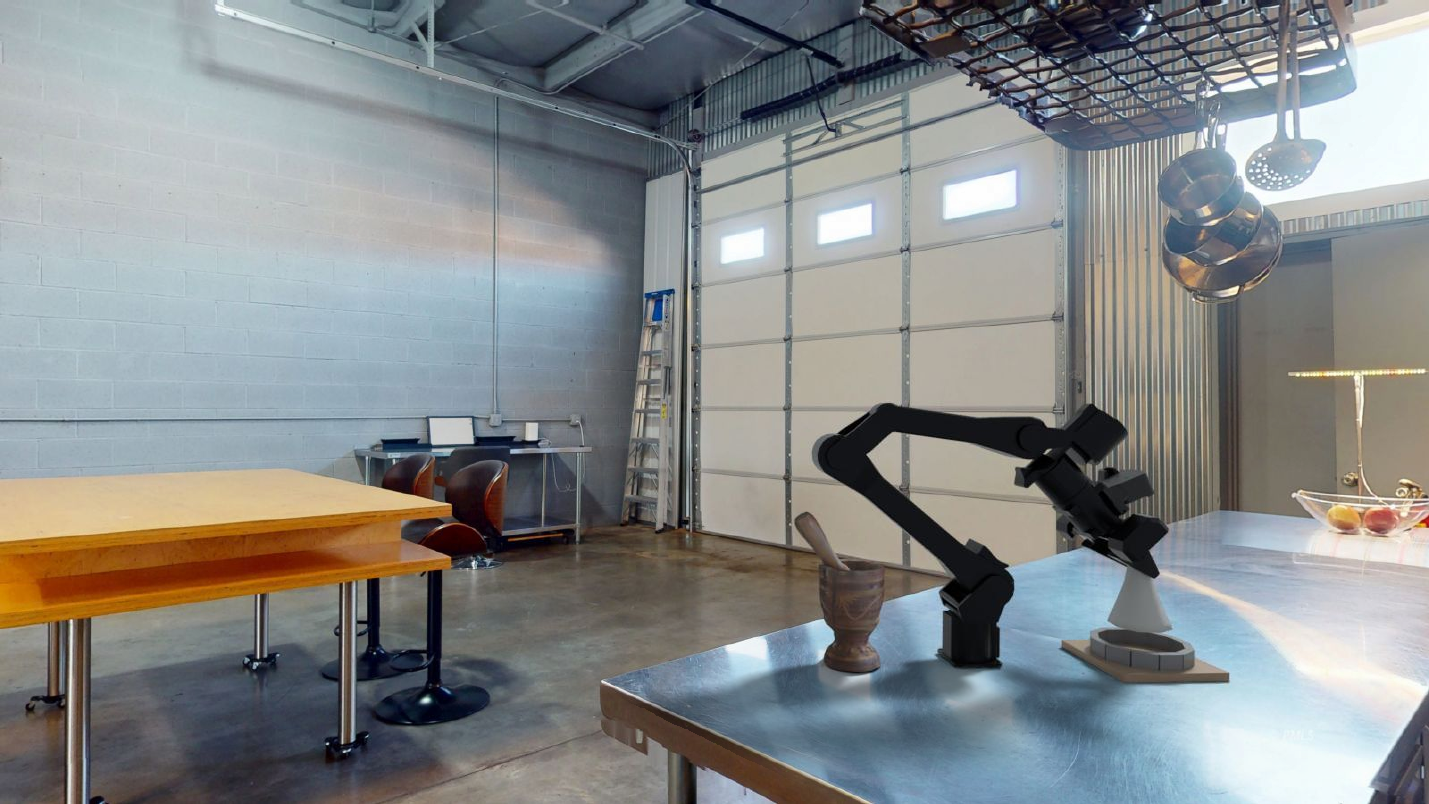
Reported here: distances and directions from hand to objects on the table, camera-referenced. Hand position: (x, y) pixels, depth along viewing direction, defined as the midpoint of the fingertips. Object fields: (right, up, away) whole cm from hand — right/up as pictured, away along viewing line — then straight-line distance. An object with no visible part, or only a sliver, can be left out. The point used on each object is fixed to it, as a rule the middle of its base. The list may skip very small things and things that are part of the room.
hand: (1149, 573), depth 99 cm
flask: (-1, -7, 0) cm, 8 cm away
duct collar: (-1, -12, 0) cm, 12 cm away
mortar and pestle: (-42, -12, -3) cm, 44 cm away
